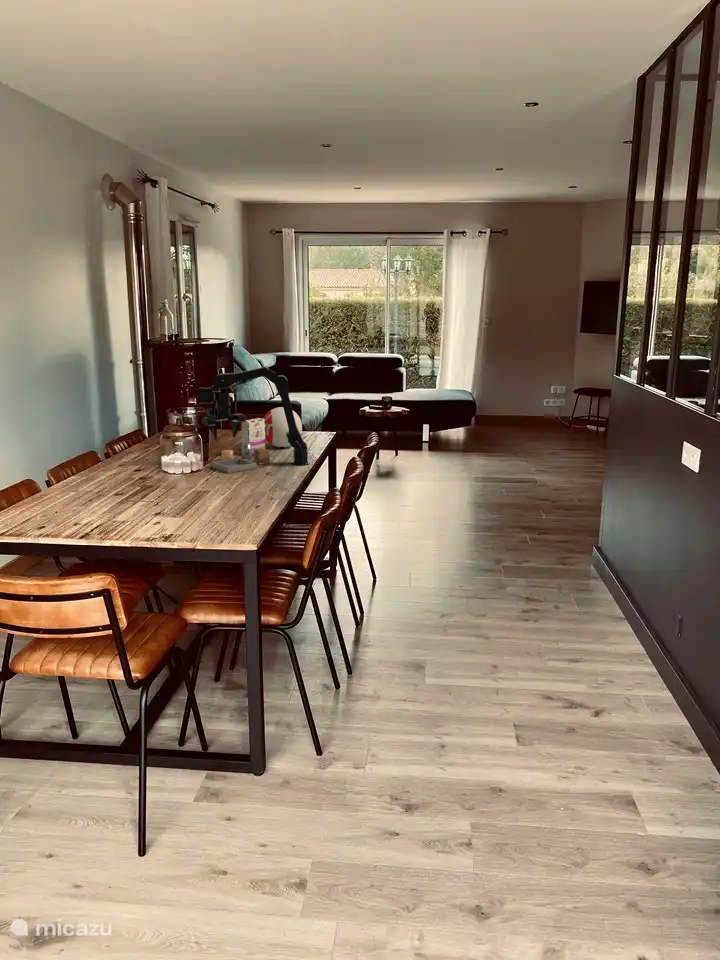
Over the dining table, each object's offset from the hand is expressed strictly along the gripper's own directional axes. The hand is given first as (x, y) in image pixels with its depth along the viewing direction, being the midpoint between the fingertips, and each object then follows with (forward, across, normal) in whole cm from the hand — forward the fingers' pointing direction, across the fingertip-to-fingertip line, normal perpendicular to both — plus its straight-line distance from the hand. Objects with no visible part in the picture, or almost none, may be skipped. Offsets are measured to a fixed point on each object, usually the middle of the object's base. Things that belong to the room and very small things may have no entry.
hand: (224, 438), depth 322 cm
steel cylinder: (+12, -14, -6) cm, 19 cm away
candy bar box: (+12, -23, -14) cm, 30 cm away
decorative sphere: (+12, -43, -20) cm, 49 cm away
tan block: (+12, -4, -6) cm, 14 cm away
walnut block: (+12, -15, +5) cm, 20 cm away
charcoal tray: (+12, +1, +8) cm, 14 cm away
